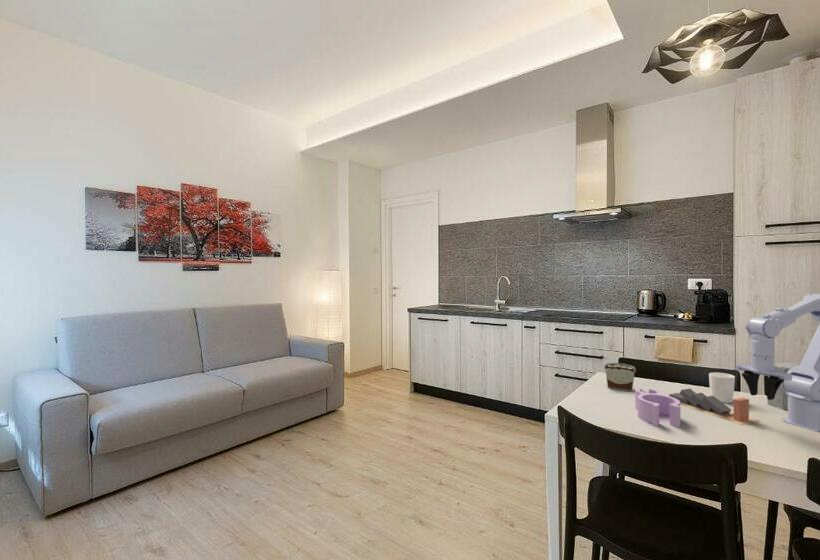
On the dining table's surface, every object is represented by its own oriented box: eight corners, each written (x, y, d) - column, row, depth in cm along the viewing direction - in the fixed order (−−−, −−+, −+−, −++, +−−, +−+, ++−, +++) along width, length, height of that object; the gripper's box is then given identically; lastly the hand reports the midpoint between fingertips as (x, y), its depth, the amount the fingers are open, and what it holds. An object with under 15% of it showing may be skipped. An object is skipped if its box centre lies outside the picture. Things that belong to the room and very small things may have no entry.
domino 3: (719, 406, 142) (701, 392, 148) (710, 407, 140) (692, 394, 146) (717, 409, 142) (699, 396, 148) (708, 411, 141) (690, 397, 147)
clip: (626, 405, 150) (626, 387, 150) (663, 407, 147) (663, 389, 147) (646, 426, 130) (646, 405, 130) (688, 428, 128) (688, 407, 128)
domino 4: (731, 409, 138) (713, 395, 144) (722, 411, 136) (704, 397, 142) (729, 413, 139) (710, 399, 145) (720, 415, 137) (701, 400, 143)
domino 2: (706, 402, 146) (690, 388, 152) (697, 403, 144) (681, 389, 150) (704, 405, 147) (687, 391, 153) (695, 407, 145) (679, 393, 151)
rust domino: (748, 419, 133) (748, 399, 133) (739, 421, 131) (739, 400, 131) (742, 417, 135) (743, 397, 134) (733, 419, 133) (733, 399, 133)
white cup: (725, 397, 156) (725, 372, 156) (739, 404, 149) (740, 378, 148) (704, 397, 157) (704, 372, 157) (717, 403, 149) (717, 377, 149)
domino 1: (695, 398, 150) (677, 392, 156) (686, 399, 148) (669, 394, 155) (695, 402, 150) (677, 397, 157) (686, 404, 148) (669, 398, 155)
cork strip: (760, 422, 132) (760, 421, 132) (742, 425, 129) (742, 424, 129) (684, 398, 156) (684, 397, 156) (667, 400, 153) (667, 400, 153)
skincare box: (787, 403, 149) (787, 361, 148) (806, 410, 142) (807, 366, 141) (765, 403, 148) (765, 362, 148) (784, 410, 141) (784, 367, 141)
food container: (636, 387, 171) (636, 364, 171) (636, 391, 166) (636, 367, 165) (605, 383, 177) (605, 361, 177) (603, 387, 172) (603, 364, 172)
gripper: (729, 351, 132) (729, 391, 133) (781, 361, 119) (781, 405, 119) (743, 350, 134) (743, 389, 135) (796, 359, 121) (796, 403, 121)
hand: (762, 397), depth 127 cm, fingers open, 4 cm apart
